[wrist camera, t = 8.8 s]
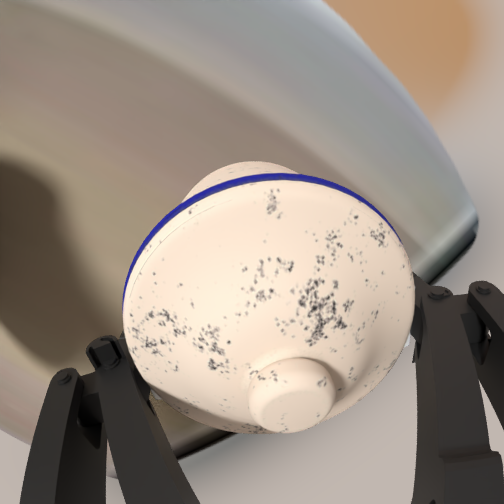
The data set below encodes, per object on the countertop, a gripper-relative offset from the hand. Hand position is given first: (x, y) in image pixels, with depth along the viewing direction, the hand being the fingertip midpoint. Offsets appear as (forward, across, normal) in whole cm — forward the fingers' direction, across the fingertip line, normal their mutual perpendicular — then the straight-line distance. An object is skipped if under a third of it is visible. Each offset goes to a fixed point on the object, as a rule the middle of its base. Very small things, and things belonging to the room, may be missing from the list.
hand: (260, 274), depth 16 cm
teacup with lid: (+2, 0, 0) cm, 2 cm away
